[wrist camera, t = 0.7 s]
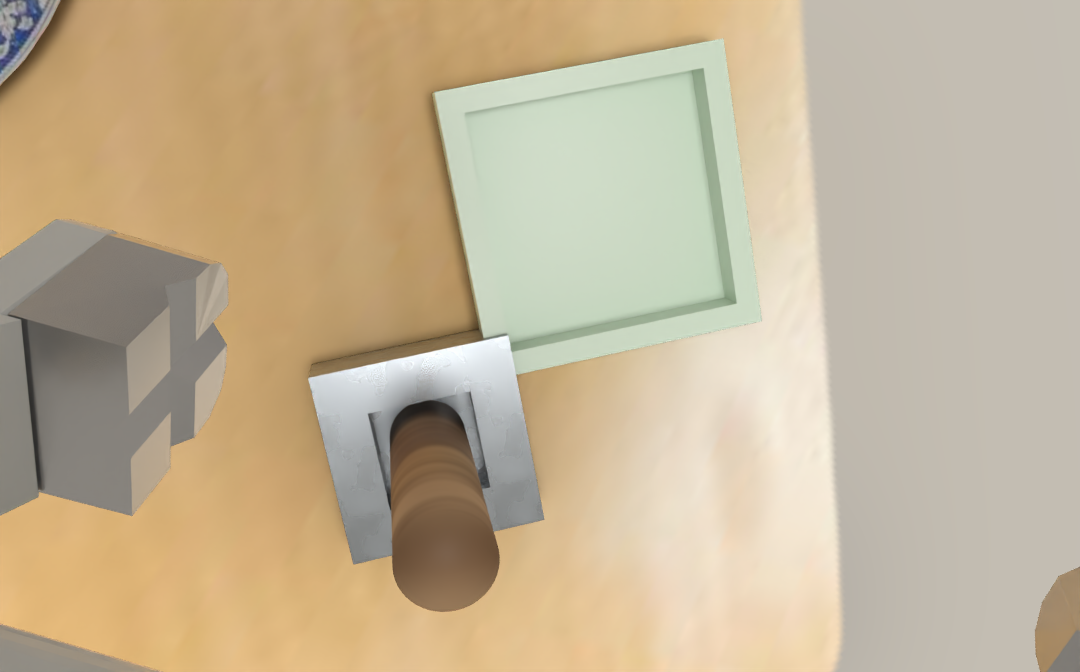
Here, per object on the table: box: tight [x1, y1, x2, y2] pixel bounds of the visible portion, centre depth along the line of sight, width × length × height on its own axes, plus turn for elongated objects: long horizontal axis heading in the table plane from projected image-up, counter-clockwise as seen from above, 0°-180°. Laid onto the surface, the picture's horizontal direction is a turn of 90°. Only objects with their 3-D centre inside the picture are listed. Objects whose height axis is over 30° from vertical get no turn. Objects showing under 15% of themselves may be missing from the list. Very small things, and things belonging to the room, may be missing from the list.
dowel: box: [390, 400, 499, 612], centre depth 46 cm, size 4×4×16 cm
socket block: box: [308, 329, 544, 564], centre depth 52 cm, size 10×10×3 cm
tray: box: [432, 39, 762, 375], centre depth 52 cm, size 14×14×2 cm
